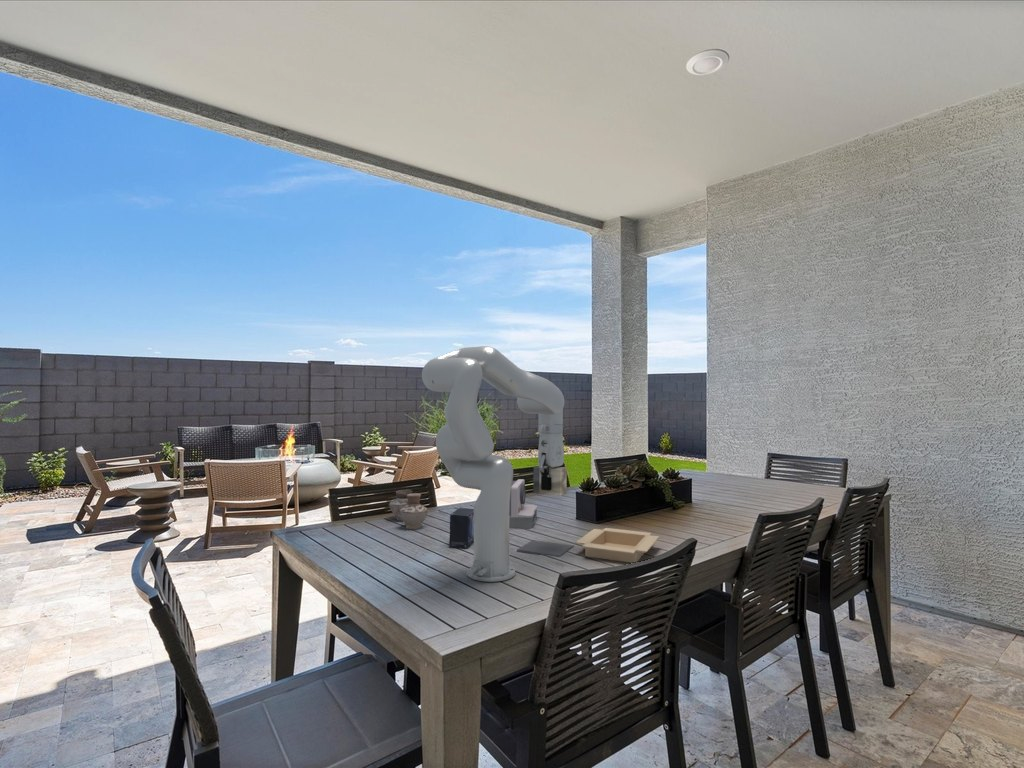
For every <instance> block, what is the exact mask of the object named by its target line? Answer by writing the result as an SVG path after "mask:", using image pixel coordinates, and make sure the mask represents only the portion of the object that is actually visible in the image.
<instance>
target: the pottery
mask: <svg viewBox="0 0 1024 768" xmlns="http://www.w3.org/2000/svg"><path fill="white" fill-rule="evenodd" d="M395 495H396V498H394V499H392V500H391V501H390V502H389V509H390V510H391V512H392V514H393V515H394V516H395V517H396V520H397V521H398V522H399V521H400V522H404V524H406V525H405V529H407V530H420V529H421V528H422V527H423V526H422V523H423V522H424V521H425V520H426V517H427V514H428V508H427V507H426V506H424V505H423V504H421V503H420V500H421V496H422V494H421V493H413V490H411V489H403V490H402V489H401V490H397V491H395Z"/></svg>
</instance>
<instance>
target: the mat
mask: <svg viewBox="0 0 1024 768" xmlns="http://www.w3.org/2000/svg"><path fill="white" fill-rule="evenodd" d="M574 547H575V546H574V545H572V544H565V543H557V542H550V541H544V540H543V541H542V540H534V539H532V540H531V541H529V542H527V543H525V544H524V545H522V546H520V547H519V548H517V549H516V552H518V553H525V554H531V555H538V556H541V555H545V556H551V557H552V556H553V557H558V558H560V557H562V556H563V555H564V554H566V553H568V551H569V550H571V549H572V548H574Z"/></svg>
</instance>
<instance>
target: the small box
mask: <svg viewBox="0 0 1024 768" xmlns="http://www.w3.org/2000/svg"><path fill="white" fill-rule="evenodd" d="M448 539H449V544H448V548H456V549H468V548H470V547H471V546H472V545H474V508H468V507H466V508H464V507H459V508H457V509H456V510H454V511H453V512H451V513H450V514H449V538H448Z"/></svg>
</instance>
